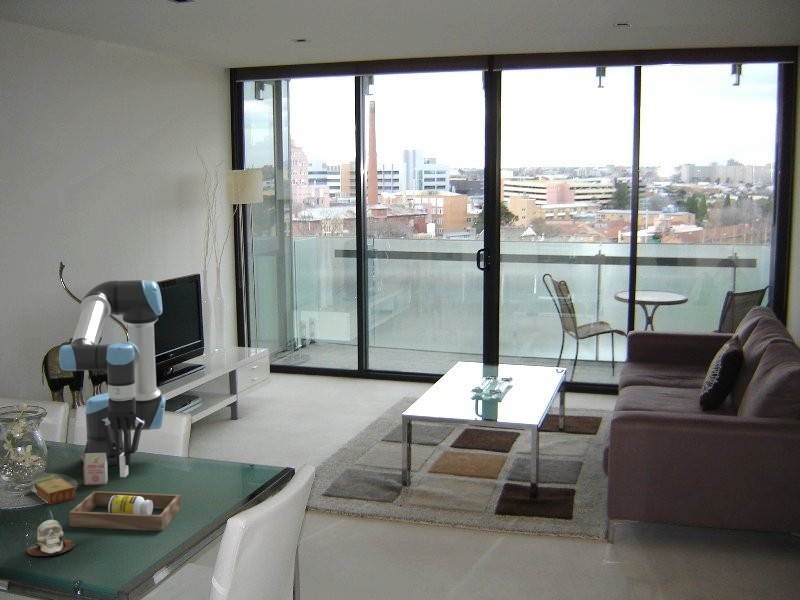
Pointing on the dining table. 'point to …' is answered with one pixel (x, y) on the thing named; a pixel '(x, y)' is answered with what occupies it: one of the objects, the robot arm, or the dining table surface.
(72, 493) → the carton
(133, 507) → the pill bottle
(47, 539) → the skull
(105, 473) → the white red printed box
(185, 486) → the dining table surface
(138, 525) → the walnut frame
